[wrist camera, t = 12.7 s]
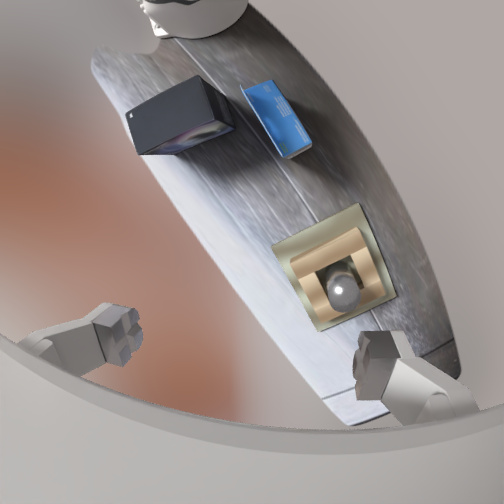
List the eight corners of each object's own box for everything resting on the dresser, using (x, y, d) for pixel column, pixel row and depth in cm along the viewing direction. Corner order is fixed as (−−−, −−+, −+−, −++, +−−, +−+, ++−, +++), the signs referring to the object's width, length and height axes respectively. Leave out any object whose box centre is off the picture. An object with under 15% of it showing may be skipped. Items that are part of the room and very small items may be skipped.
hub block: (271, 245, 41) (268, 252, 38) (357, 202, 36) (362, 205, 33) (317, 329, 44) (318, 340, 40) (395, 294, 39) (401, 303, 36)
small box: (173, 158, 39) (135, 158, 29) (161, 121, 38) (122, 112, 28) (237, 131, 36) (215, 120, 27) (223, 92, 35) (197, 71, 25)
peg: (325, 259, 39) (330, 282, 31) (352, 261, 38) (363, 283, 31) (323, 285, 40) (327, 312, 33) (349, 286, 39) (358, 313, 32)
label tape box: (313, 147, 35) (318, 138, 24) (287, 160, 37) (280, 158, 25) (280, 94, 34) (270, 65, 22) (255, 108, 35) (234, 85, 23)
